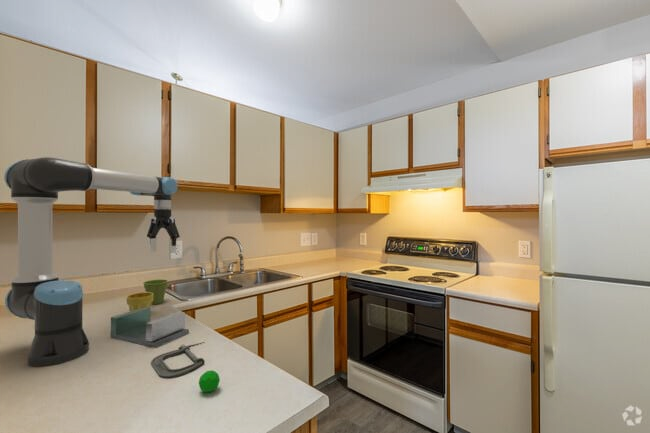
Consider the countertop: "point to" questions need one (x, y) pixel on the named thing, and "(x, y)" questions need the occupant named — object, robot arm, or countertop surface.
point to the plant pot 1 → (139, 300)
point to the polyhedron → (209, 381)
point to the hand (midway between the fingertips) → (163, 252)
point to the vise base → (139, 328)
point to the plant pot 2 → (156, 289)
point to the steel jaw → (165, 326)
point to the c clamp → (170, 373)
